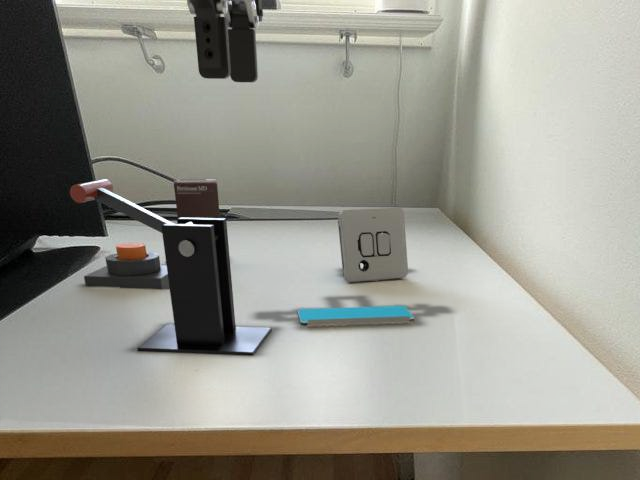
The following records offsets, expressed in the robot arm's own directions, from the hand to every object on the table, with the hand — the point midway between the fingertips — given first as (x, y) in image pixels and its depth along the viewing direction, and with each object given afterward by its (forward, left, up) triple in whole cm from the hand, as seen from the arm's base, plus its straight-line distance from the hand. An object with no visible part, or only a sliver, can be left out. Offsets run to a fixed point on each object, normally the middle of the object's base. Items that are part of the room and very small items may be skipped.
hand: (230, 80), depth 52 cm
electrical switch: (+8, +36, -23) cm, 43 cm away
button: (-22, +26, -19) cm, 39 cm away
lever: (-9, +2, -12) cm, 15 cm away
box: (-17, +39, -23) cm, 48 cm away
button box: (-22, +26, -23) cm, 41 cm away
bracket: (-5, +2, -23) cm, 23 cm away
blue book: (+8, +14, -23) cm, 28 cm away
